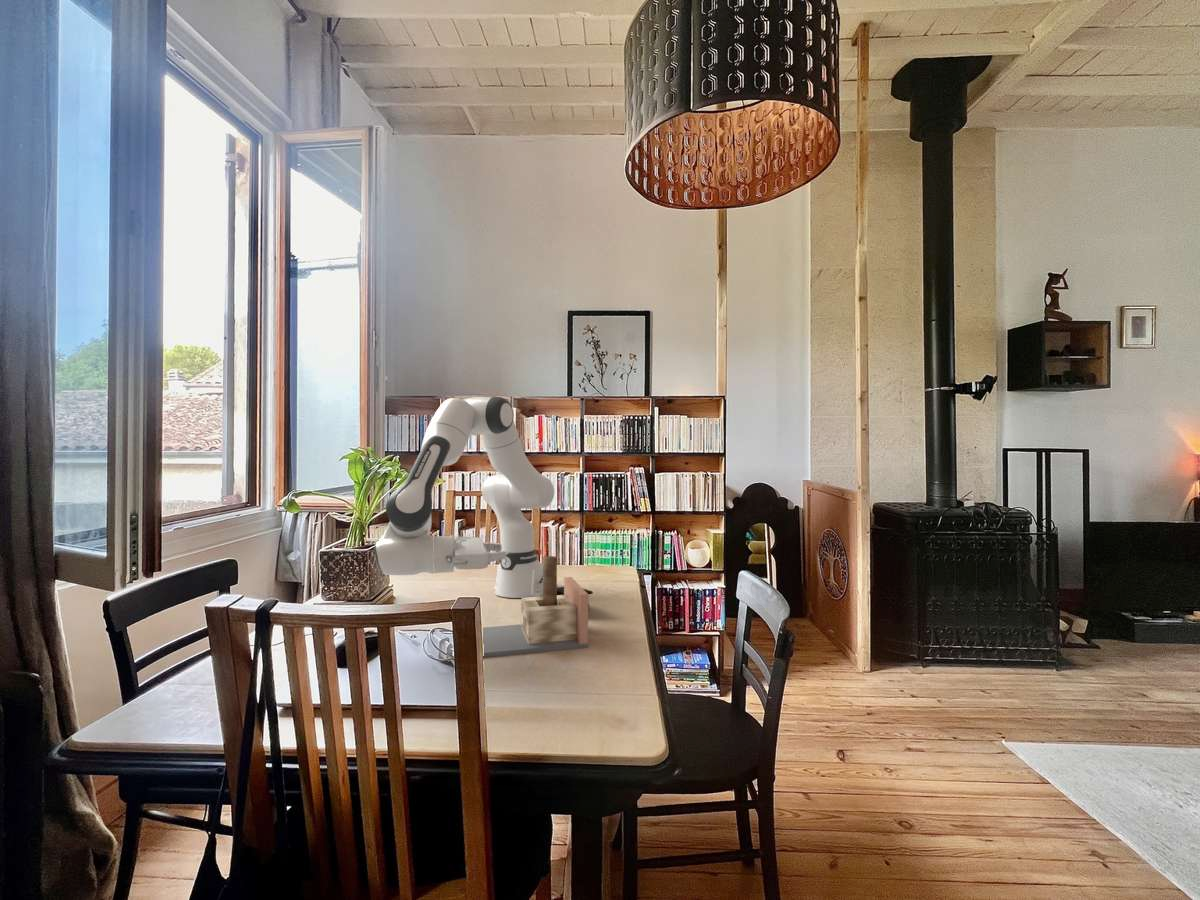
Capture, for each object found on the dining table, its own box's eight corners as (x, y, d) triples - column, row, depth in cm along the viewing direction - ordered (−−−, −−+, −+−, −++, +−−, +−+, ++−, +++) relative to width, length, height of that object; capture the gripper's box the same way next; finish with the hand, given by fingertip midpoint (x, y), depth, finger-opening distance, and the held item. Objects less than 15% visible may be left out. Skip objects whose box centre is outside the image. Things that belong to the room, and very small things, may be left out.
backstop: (475, 658, 131) (475, 602, 131) (470, 632, 148) (470, 582, 148) (587, 647, 139) (588, 594, 138) (570, 624, 156) (571, 577, 156)
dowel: (547, 624, 148) (547, 555, 147) (559, 626, 146) (559, 557, 146) (539, 628, 145) (539, 558, 144) (551, 630, 143) (551, 559, 142)
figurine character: (549, 612, 172) (575, 619, 159) (548, 586, 172) (574, 592, 160) (568, 608, 175) (595, 615, 163) (567, 583, 176) (594, 588, 163)
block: (528, 643, 138) (528, 611, 137) (521, 628, 149) (521, 597, 149) (576, 639, 141) (576, 607, 141) (565, 624, 153) (566, 594, 152)
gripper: (447, 550, 128) (508, 546, 132) (445, 533, 147) (498, 531, 151) (447, 578, 128) (508, 573, 132) (445, 557, 147) (499, 554, 151)
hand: (503, 550), depth 142 cm, fingers open, 8 cm apart
